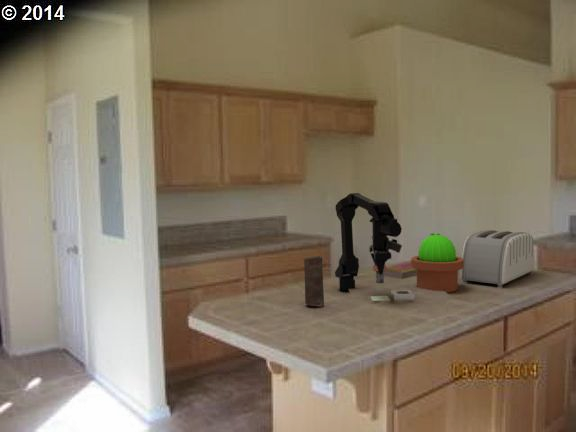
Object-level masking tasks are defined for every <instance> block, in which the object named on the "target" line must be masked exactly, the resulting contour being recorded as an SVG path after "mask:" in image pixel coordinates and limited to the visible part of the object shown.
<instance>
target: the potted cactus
mask: <svg viewBox="0 0 576 432" xmlns="http://www.w3.org/2000/svg"><path fill="white" fill-rule="evenodd" d="M449 238H450V237H448V236H447V237H446V236H445V235H444V234H442V233H436V234H435V233H430V234H429V236H426V238H424V239H423V241H421V243H420V245H419V249H418V253H417V255H415V256H412V257H411V258H410V260H411V267H412V268H414V269H417V275H416V288H419V289H425V290H431V291H444V292H445V293H446V294H449V293H454V292H456V291H457V290H458V287H459V281H458V280H459V279H458V277H459V272H458V271H460V270H461V269H463V258H462V256H461V257H460V256H457V252H456V251H457V249H456V248H455V247H456V246H455V244H454V243H453V242H452V240H451V239H449Z"/></svg>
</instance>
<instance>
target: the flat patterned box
mask: <svg viewBox="0 0 576 432" xmlns="http://www.w3.org/2000/svg"><path fill="white" fill-rule="evenodd" d="M415 276H417V269H414V268H412V267H411V261H406V262H402V263H397V264H394V265H390V266H387V270H386V271H384V277H389V278H396V279H401V280H402V279H406V278H410V277H415Z"/></svg>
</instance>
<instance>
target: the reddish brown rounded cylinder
mask: <svg viewBox="0 0 576 432" xmlns="http://www.w3.org/2000/svg"><path fill="white" fill-rule="evenodd" d="M387 267H388V266H387V265H386V264H385V266H384V270H383V274H379V271H378V269H377V266H376V265H375V264H374V265H372V270H373V271H374V272H375V283H376V284H384V282H385V279H384V278H385V276H384V271H386V270H387Z"/></svg>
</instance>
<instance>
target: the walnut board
mask: <svg viewBox="0 0 576 432" xmlns="http://www.w3.org/2000/svg"><path fill="white" fill-rule="evenodd" d="M366 296H367V298H368V301H369V302H370V304H412V303H418V301H417V300H416V299H415V301H394V300H393V299H392V297H391V294H372V295H371V294H370V295H368V294H367V295H366ZM370 296H388V298H389V299H390V301H372V299H371V298H370Z"/></svg>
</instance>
